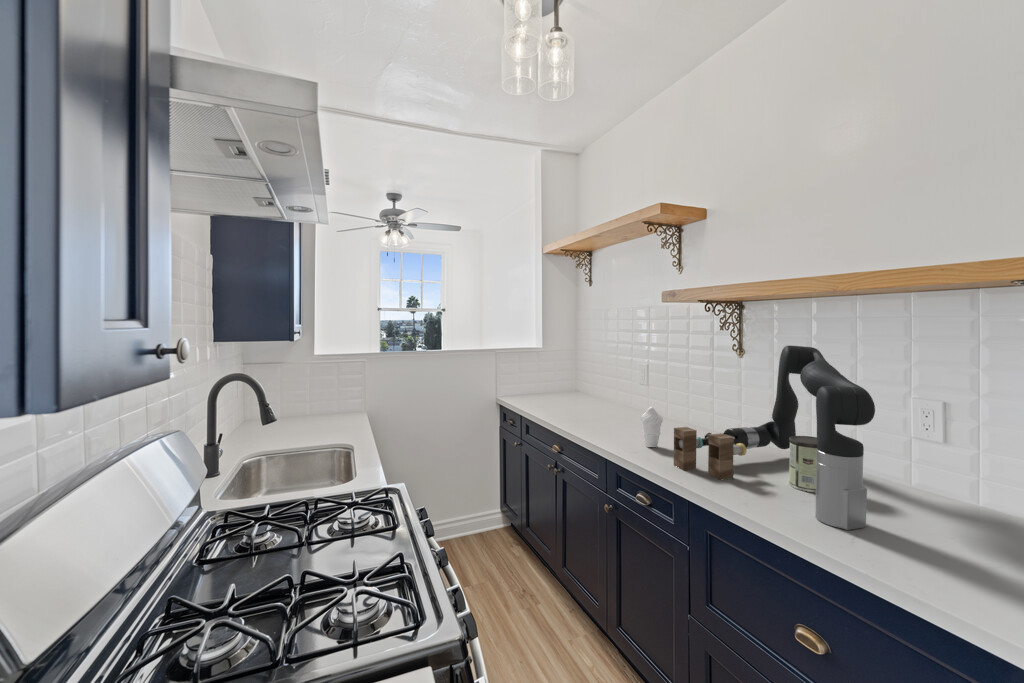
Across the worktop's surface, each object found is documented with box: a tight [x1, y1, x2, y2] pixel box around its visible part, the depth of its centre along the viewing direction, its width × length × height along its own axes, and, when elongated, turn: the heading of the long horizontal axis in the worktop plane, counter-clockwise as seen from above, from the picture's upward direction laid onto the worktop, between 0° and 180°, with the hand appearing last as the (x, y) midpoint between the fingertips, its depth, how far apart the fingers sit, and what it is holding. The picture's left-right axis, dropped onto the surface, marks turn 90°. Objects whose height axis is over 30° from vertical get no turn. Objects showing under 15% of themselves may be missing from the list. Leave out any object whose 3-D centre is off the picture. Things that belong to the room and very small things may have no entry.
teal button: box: [679, 436, 704, 449], centre depth 153 cm, size 4×7×4 cm, turn 106°
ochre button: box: [733, 443, 748, 456], centre depth 144 cm, size 4×7×4 cm, turn 106°
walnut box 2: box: [707, 432, 734, 481], centre depth 143 cm, size 5×5×13 cm
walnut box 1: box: [673, 426, 698, 471], centre depth 152 cm, size 5×5×13 cm
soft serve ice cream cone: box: [640, 406, 664, 448], centre depth 177 cm, size 8×8×16 cm
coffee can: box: [788, 435, 817, 494], centre depth 134 cm, size 10×10×14 cm
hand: (699, 442), depth 154 cm, fingers closed
